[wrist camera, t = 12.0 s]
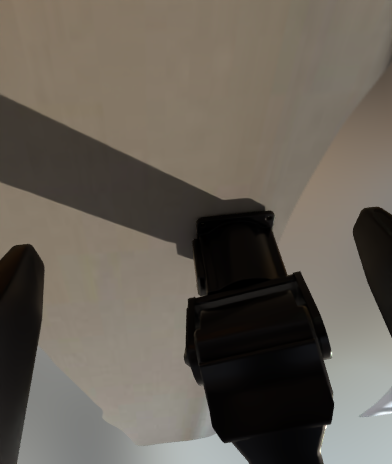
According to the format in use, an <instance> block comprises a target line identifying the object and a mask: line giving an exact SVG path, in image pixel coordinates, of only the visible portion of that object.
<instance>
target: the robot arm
mask: <svg viewBox="0 0 392 464" xmlns="http://www.w3.org/2000/svg"><path fill="white" fill-rule="evenodd" d="M274 220H275V215H274V213H273V212H272V211H261V212H252V213H242V214H233V215H223V216H214V217H204V218H199V219H198V220H197V221H196V228H197V238H196V239H194V240H193V241H192V246H193V258H194V266H195V274H196V282H197V290H198V294H199V295H200V296H202V297H198V298H195V297H193V298H189V299H188V308H187V315H186V348H185V353H184V361H185V363H186V364H187V365H188V366H189V367H191V369H192V372H193V375H194V378H195V380H196V382H197V383H198V385H200V386H201V385H203V386H204V390H205V394H206V398H207V402H208V406H209V411H210V417H211V423H212V427H213V429H214V430H215V432H216V433H217V434H218V436H219V437H220V439H221V440H222V441H223V442H224V443H228V442H232V443H233V444H234V446H235V447H236V448H237V449H238V450H239V451H240V453H241V454H242V455H243V456H244V457H245V458H246V460H247V461H248V462H249V464H324V463H323V459H322V456H321V452H320V450H321V446H322V441H323V437H324V433H325V428H326V425H329V424H331V421H332V416H333V409H334V401H333V391H332V387H331V384H330V380H329V377H328V374H327V370H326V367H325V364H324V360H326V359H331V358H332V353H331V347H330V343H329V339H328V336H327V333H326V329H325V326H324V324H323V320H322V318H321V315H320V313H319V311H318V308H317V306H316V304H315V302H314V300H313V298H312V296H311V293H310V291H309V289H308V287H307V285H306V283H305V281H304V279H303V276H302V274H301V272H300V271H299V272H295V273H293V274H292V275H287V272H286V269H285V267H284V264H283V261H282V258H281V255H280V252H279V249H278V246H277V243H276V241H275V238H274V235H273V232H272V230H273V225H274ZM202 223H204V224H202ZM353 236H354V240H355V243H356V246H357V250H358V253H359V256H360V259H361V262H362V266H363V269H364V272H365V276H366V278H367V282H368V284H369V286H370V289H371V291H372V294H373V296H374V298H375V301H376V303H377V305H378V307H379V310H380V312H381V314H382V316H383V319H384V321H385V323H386V325H387V328H388V330H389V332H390V335H391V337H392V215H391V214H390V213H388V212H387V211H385V210H383V209H382V208H380V207H369V208H364V209H363V210H362V211H361V212H360V214H359V217H358V219H357V221H356V223H355V225H354V228H353ZM43 289H44V264H43V261H42V260H41V258H40V257H39V255H38V253H37V252H36V250H35V249H34V247H33V246H32V245H30V244H23V245H16V246H13V247H12V248H11V249H10V250H9V251H8V252H7V253H6V254H5V256H4V257H3V258H2V259H1V260H0V464H17V460H18V454H19V448H20V443H21V436H22V431H23V425H24V420H25V414H26V408H27V403H28V397H29V391H30V386H31V380H32V374H33V368H34V363H35V357H36V351H37V346H38V340H39V334H40V329H41V322H42V309H43Z"/></svg>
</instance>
